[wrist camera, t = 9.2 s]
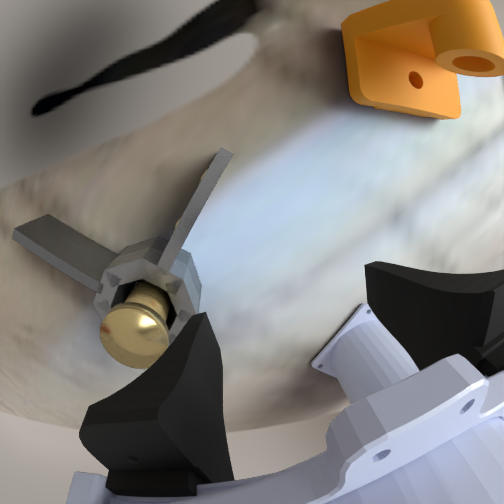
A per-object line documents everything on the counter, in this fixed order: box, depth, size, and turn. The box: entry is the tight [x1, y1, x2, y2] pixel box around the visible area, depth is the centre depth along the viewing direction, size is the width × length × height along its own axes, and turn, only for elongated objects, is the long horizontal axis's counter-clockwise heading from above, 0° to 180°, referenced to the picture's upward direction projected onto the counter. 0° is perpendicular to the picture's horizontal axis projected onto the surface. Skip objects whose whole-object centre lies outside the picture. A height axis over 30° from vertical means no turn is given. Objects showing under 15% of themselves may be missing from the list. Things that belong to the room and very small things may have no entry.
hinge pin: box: [100, 279, 172, 369], centre depth 18 cm, size 4×4×8 cm
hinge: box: [12, 147, 234, 347], centre depth 18 cm, size 14×14×5 cm
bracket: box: [341, 0, 504, 120], centre depth 13 cm, size 11×7×12 cm, turn 93°
